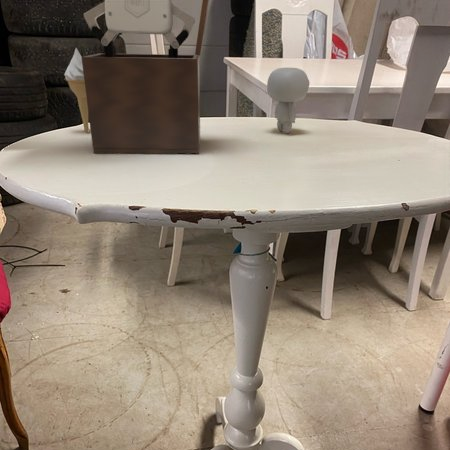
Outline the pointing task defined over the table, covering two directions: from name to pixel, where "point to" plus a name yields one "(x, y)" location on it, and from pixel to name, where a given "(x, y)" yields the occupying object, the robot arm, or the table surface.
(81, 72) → the ice cream cone
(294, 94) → the figurine
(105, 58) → the bin
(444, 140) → the table surface
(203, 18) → the bin lid
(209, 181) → the table surface
